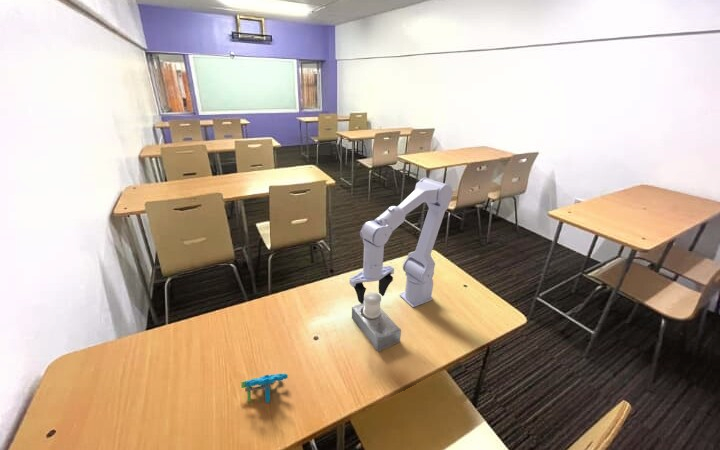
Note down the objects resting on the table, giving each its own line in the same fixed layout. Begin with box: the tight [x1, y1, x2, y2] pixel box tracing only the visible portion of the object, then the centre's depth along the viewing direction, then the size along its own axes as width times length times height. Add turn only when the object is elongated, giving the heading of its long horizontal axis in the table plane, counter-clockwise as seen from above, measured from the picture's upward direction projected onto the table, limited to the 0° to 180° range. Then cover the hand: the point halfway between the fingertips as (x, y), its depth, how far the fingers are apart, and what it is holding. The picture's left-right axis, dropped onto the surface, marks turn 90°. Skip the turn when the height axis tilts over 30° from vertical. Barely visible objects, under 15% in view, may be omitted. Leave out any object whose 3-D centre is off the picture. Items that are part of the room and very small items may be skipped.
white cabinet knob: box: [363, 291, 382, 319], centre depth 94 cm, size 6×6×6 cm
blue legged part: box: [240, 373, 289, 403], centre depth 74 cm, size 11×6×10 cm
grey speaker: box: [351, 302, 402, 352], centre depth 94 cm, size 8×16×5 cm, turn 30°
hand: (371, 297), depth 93 cm, fingers open, 7 cm apart
